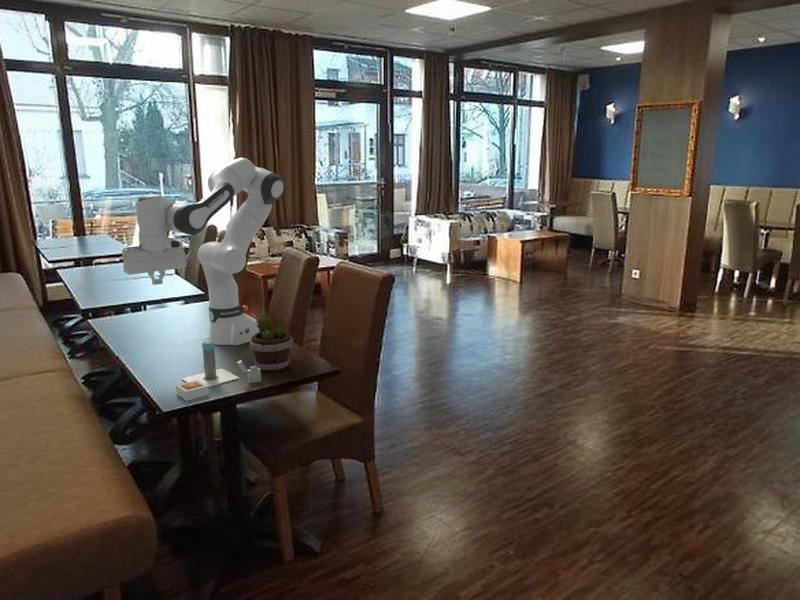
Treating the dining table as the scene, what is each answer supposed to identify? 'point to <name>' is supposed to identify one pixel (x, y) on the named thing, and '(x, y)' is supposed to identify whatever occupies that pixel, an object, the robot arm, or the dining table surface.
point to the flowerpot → (270, 346)
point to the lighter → (251, 373)
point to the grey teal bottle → (209, 360)
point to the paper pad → (220, 378)
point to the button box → (192, 391)
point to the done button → (191, 385)
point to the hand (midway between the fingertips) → (157, 284)
